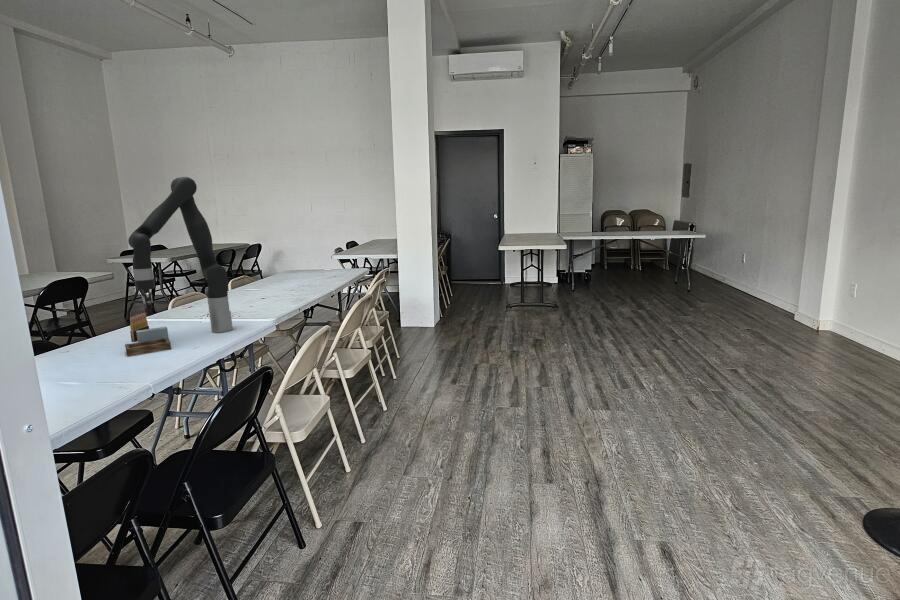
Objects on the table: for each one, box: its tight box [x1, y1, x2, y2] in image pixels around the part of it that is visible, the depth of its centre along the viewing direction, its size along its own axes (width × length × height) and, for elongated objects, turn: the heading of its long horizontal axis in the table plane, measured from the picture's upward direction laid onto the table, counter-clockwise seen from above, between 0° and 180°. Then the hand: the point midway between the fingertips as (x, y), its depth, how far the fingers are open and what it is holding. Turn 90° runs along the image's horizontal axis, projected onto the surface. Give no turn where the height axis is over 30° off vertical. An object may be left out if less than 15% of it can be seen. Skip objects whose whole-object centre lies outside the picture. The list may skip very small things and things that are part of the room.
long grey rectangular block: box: [136, 326, 170, 343], centre depth 232 cm, size 12×4×7 cm, turn 125°
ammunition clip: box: [129, 312, 150, 343], centre depth 241 cm, size 11×2×12 cm, turn 174°
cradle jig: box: [124, 338, 172, 357], centre depth 222 cm, size 16×9×3 cm, turn 125°
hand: (149, 313), depth 229 cm, fingers open, 8 cm apart
